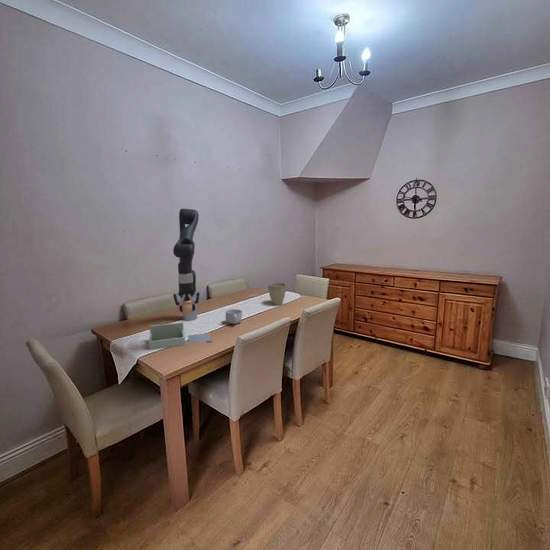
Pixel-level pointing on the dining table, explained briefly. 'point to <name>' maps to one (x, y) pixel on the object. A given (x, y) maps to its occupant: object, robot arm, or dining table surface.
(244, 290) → the dining table surface
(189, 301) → the pot
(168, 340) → the cold frame
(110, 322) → the dining table surface
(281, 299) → the plant pot
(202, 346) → the dining table surface
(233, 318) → the teacup
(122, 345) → the dining table surface
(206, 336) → the slate tile
